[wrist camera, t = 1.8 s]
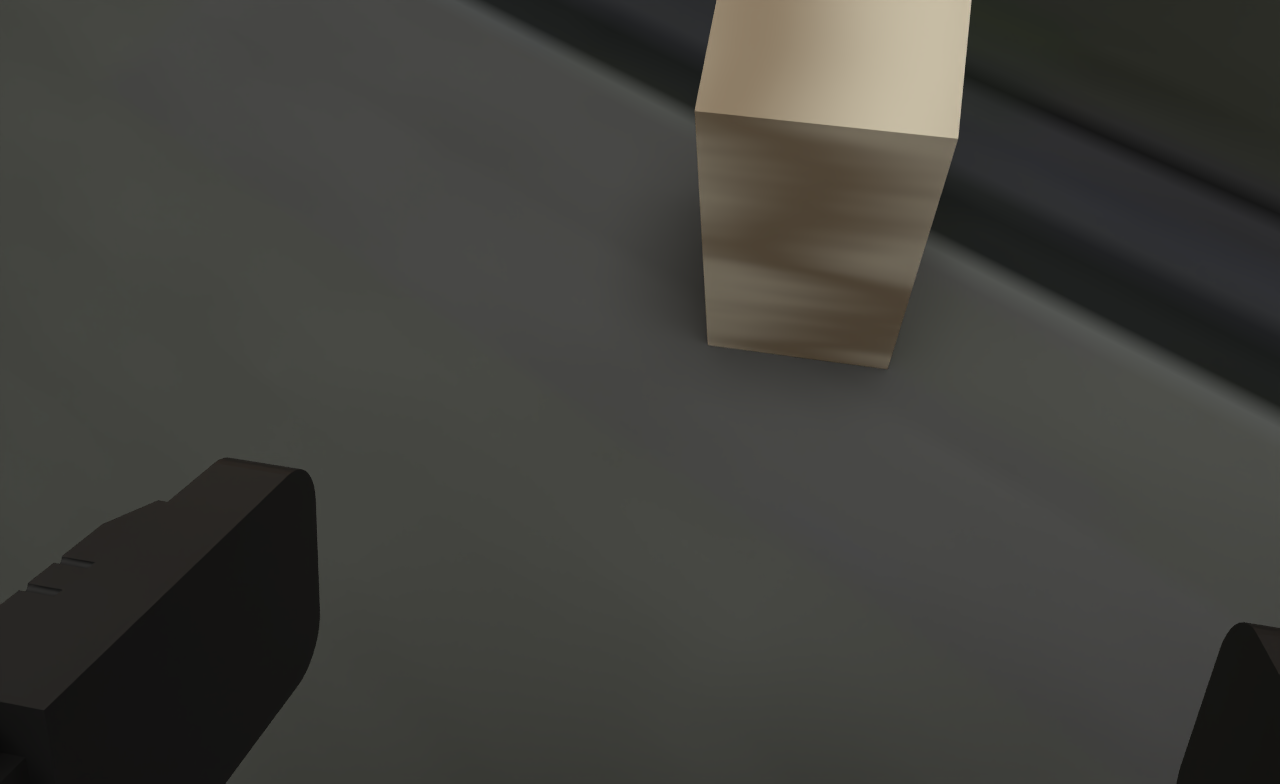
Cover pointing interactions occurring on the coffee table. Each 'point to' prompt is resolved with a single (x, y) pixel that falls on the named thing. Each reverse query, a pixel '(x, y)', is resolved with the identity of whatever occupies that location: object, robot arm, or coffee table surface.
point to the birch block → (823, 168)
